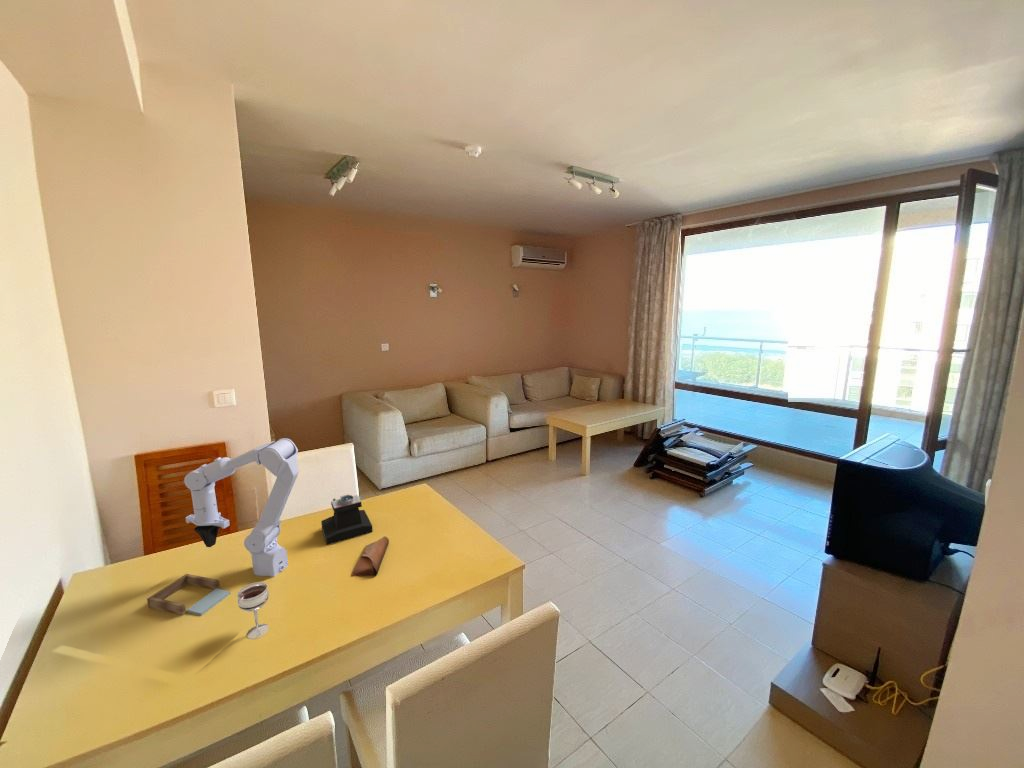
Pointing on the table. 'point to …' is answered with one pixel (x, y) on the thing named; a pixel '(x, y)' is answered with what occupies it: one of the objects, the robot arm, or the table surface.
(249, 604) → the wineglass
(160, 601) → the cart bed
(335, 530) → the camera
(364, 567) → the sunglasses case
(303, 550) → the table surface
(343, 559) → the table surface
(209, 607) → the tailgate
